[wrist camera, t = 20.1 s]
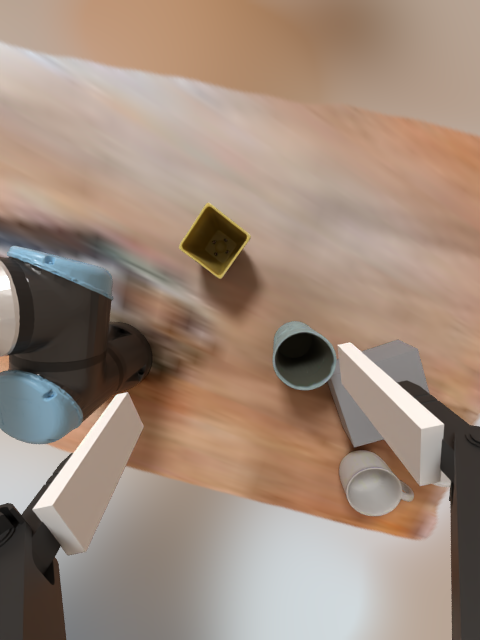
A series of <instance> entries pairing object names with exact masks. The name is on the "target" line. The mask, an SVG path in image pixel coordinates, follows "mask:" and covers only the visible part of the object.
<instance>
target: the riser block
mask: <svg viewBox="0 0 480 640" xmlns="http://www.w3.org/2000/svg"><path fill="white" fill-rule="evenodd" d="M362 353H363V354H364V355H365V356H367V357H368V358H369V359H370V360H371V361H372V362H373V363H375V364H376V365H377V366H378V367H379V368H380V369H381V370H383V371H384V372H385V373H386V374H387V375H388V376H389V377H391V378H392V379H393V380H394V381H395V382H401V381H406V380H408V381H410V382H412V383H414V384H417V385H419V386H421V387H422V388H423V389H424V390H426V391H427V392H428V393H429V390H428V386H427V382H426V378H425V375H424V371H423V367H422V363H421V359H420V356H419V352H418V349H417V348H415V347H413V346H411V345H408V344H406V343H404V342H402V341H400V340H396V341H392V342H389V343H386V344H383V345H380V346H377V347H374V348H371V349H368V350H365V351H362ZM327 382H328V384H329V387H330V390H331V393H332V396H333V399H334V402H335V405H336V408H337V411H338V414H339V417H340V420H341V423H342V426H343V428H344V430H345V432H346V434H347V435H348V437H349V439H350V441H351V443H352V444H353V446H354V447H358V446H361V445H365V444H369V443H372V442H376V441H380V440H383V439H384V438H383V437H382V436H381V434H380V433H379V432H378V431H377V429H376V428H375V427H374V425H373V424H372V423H371V421H370V420H369V419H368V417H367V416H366V415H365V413H364V412H363V411H362V410H361V408H360V407H359V406H358V404H357V403H356V402H355V400H354V399H353V398H352V396H351V395H350V394H349V392H348V391H347V390H346V389H345V387H344V386H343V385H342V382H341V373H340V363H339V359H337V360H336V368H335V371H334V373H333V375H332V376H331V378H330V379H329V380H328V381H327Z"/></svg>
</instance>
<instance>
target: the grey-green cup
mask: <svg viewBox="0 0 480 640" xmlns="http://www.w3.org/2000/svg"><path fill="white" fill-rule="evenodd" d="M273 367H274V370H275V372H276V375H277V376H278V377H279V378H280V379H281V380H282V381H283V382H284V383H285V384H286V385H288V386H290V387H291V388H294V389H298V390H312V389H315V388H318V387H320V386H322V385H323V384H325V383H326V382H327V381H328V380H329V379H330V378H331V376H332V375H333V373H334V371H335V368H336V353H335V350H334V348H333V346H332V345H331V343H330V342H329V341H328V340H327V339H326V338H325V337H323V336H322V335H320V334H319V333H317V332H316V331H314V330H313V329H311V328H310V327H309V326H308V325H306V324H304V323H302V322H297V321H293V322H289V323H286V324H284V325H282V326H281V327H280V328H279V329H278V331H277V332H276V334H275V337H274V347H273Z"/></svg>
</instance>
